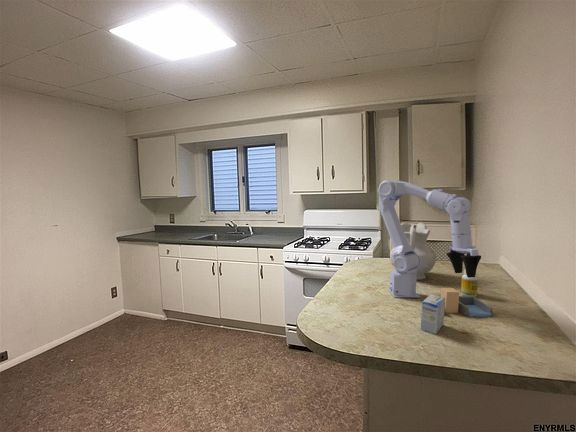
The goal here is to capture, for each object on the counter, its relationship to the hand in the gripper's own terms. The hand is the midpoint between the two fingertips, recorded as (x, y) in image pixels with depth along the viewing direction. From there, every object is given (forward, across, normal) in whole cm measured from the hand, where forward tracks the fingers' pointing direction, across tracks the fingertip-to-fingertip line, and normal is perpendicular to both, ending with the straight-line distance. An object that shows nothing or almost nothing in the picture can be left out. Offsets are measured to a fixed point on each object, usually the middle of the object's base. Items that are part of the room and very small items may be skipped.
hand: (464, 275), depth 106 cm
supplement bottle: (+12, +16, -10) cm, 22 cm away
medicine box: (+12, -11, +17) cm, 24 cm away
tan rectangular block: (+12, +2, +6) cm, 13 cm away
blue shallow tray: (+12, +2, +2) cm, 12 cm away
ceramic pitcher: (+8, +39, +3) cm, 40 cm away
